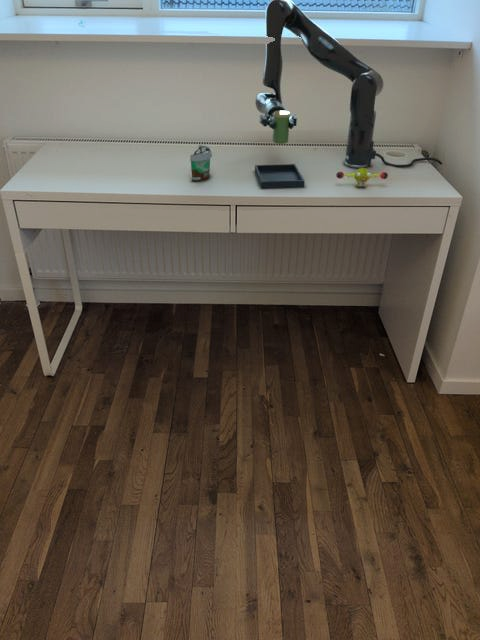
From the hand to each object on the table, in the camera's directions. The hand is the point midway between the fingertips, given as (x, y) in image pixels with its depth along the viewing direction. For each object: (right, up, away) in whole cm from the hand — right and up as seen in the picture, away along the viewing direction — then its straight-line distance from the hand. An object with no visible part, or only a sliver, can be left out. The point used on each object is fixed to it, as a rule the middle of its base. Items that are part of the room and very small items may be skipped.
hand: (282, 126), depth 189 cm
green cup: (0, -3, +6) cm, 6 cm away
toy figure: (+28, -21, +2) cm, 35 cm away
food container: (-28, -16, +7) cm, 33 cm away
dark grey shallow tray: (-1, -17, +7) cm, 18 cm away
